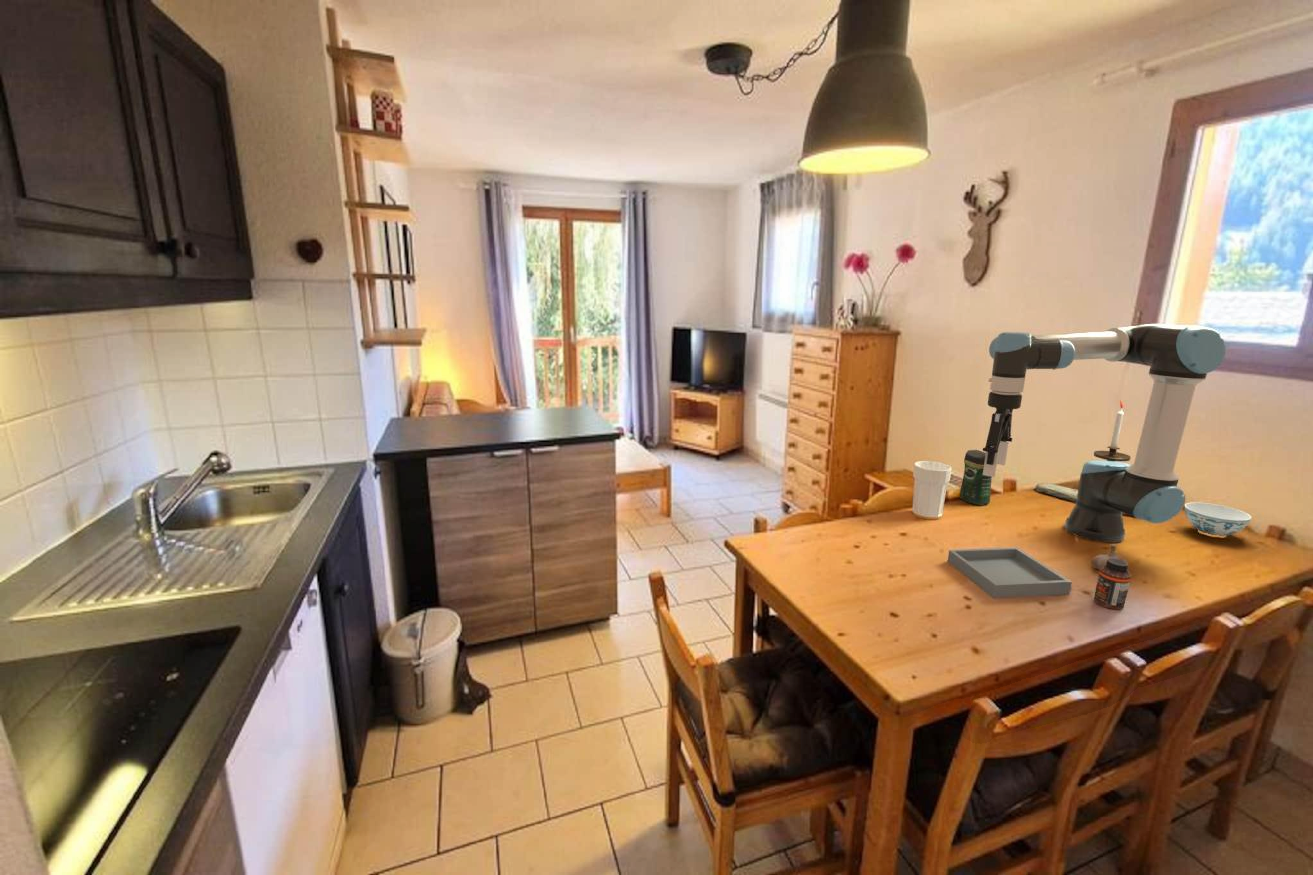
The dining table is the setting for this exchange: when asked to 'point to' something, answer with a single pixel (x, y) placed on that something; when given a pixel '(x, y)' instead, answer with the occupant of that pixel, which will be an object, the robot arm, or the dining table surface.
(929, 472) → the cup
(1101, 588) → the supplement bottle
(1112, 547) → the garlic bulb
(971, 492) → the coffee jar
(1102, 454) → the candlestick
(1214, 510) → the chinaware
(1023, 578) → the tray
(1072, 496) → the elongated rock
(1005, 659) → the dining table surface
